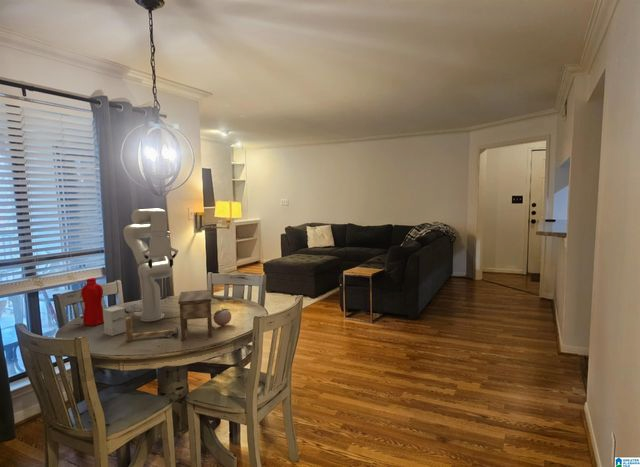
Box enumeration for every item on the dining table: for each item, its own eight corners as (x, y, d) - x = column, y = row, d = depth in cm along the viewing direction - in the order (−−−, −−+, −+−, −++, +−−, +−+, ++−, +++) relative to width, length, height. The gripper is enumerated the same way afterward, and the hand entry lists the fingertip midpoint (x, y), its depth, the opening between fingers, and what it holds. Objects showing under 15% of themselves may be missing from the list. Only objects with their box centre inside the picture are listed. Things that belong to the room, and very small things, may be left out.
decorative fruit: (222, 330, 200) (221, 311, 199) (211, 327, 204) (210, 309, 203) (235, 325, 208) (234, 306, 207) (224, 322, 212) (223, 304, 211)
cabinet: (180, 341, 187) (178, 301, 185) (182, 328, 205) (180, 291, 203) (213, 337, 191) (211, 298, 189) (212, 325, 209) (211, 289, 207)
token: (164, 338, 192) (164, 336, 192) (166, 335, 196) (166, 333, 196) (174, 337, 193) (174, 335, 193) (175, 334, 197) (175, 332, 197)
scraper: (125, 343, 185) (123, 320, 184) (129, 337, 193) (127, 315, 192) (177, 338, 191) (175, 315, 190) (178, 331, 199) (177, 310, 198)
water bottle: (93, 319, 221) (89, 275, 218) (108, 321, 217) (104, 277, 214) (78, 325, 212) (74, 279, 209) (93, 327, 208) (89, 280, 206)
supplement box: (112, 336, 194) (110, 311, 193) (104, 333, 198) (102, 309, 197) (126, 331, 201) (124, 307, 199) (118, 329, 205) (116, 305, 203)
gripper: (178, 232, 206) (179, 265, 208) (142, 233, 202) (144, 266, 204) (176, 234, 198) (178, 267, 201) (139, 235, 195) (141, 269, 197)
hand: (161, 267), depth 202 cm, fingers open, 9 cm apart
